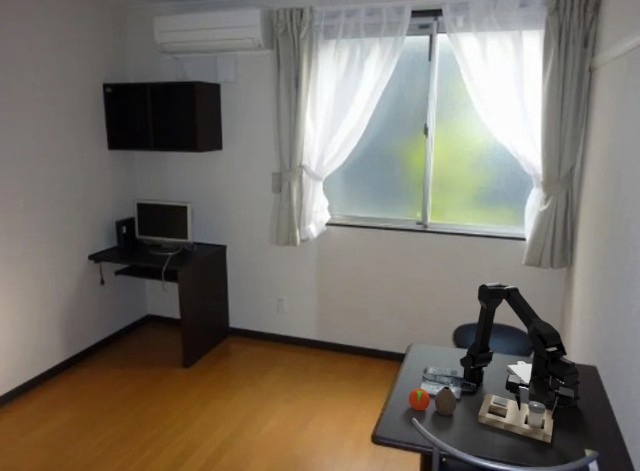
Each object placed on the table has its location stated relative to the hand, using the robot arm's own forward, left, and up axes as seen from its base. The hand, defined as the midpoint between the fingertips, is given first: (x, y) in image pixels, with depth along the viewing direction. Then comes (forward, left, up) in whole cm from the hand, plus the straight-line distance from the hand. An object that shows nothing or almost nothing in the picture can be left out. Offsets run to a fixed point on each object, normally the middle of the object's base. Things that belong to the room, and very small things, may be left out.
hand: (535, 414), depth 148 cm
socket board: (-5, +2, -5) cm, 8 cm away
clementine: (-34, -8, -5) cm, 36 cm away
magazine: (+6, +19, -5) cm, 20 cm away
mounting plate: (-3, +34, -6) cm, 35 cm away
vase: (-26, -5, -5) cm, 27 cm away
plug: (0, 0, -5) cm, 5 cm away
